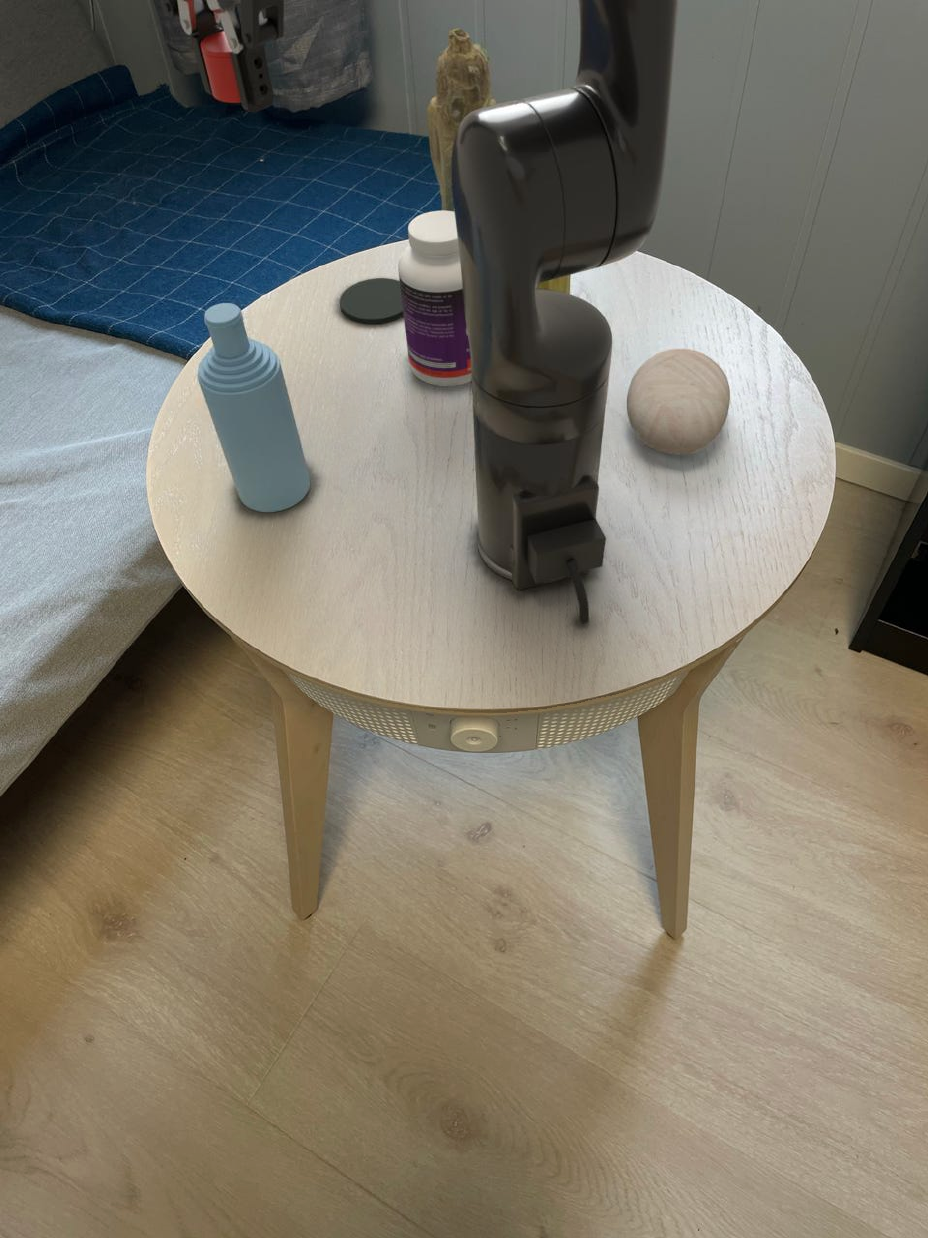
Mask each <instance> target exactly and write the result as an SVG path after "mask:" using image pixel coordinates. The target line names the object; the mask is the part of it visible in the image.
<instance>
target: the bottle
mask: <svg viewBox="0 0 928 1238" xmlns="http://www.w3.org/2000/svg"><path fill="white" fill-rule="evenodd" d="M203 318H204V320H203V321H204V325H205V326H206V327H207V330H208V334H209V336H210V339H211V342H212V346H211V347H210V349H209V350H208V351H207V352H206V353H205V355H204V356H203V357H202V359H201V361H200V362H199V364H198V369H197V375H196V376H197V381H198V384H199V387H200V389H201V392H202V395H203V398H204V401H205V403H206V406H207V409H208V412H209V415H210V418H211V421H212V424H213V427H214V429H215V432H216V435H217V438H218V440H219V443H220V446H221V449H222V452H223V454H224V458H225V461H226V463H227V467H228V469H229V472H230V475H231V477H232V480H233V483H234V486H235V488H236V489H235V490H236V492H237V494H238V498H239V500H240V501H241V502H242V504H243V505H244V506H246V507H247V508H249V509H251V510H253V511H256V512H260V513H276V512H281V511H284V510H288V509H290V508H291V507H292V508H293V507H294V506H296V505H297V504H299V503H300V502H301V501H302V500H303V499H304V498H305V497H306V495H307V494H308V493H309V490H310V488H311V478H310V477H311V476H310V473H309V469H308V465H307V461H306V457H305V453H304V449H303V445H302V442H301V437H300V433H299V429H298V426H297V422H296V419H295V418H296V417H295V414H294V410H293V406H292V402H291V398H290V396H289V391H288V387H287V384H286V379H285V375H284V372H283V368H282V364H281V359H280V357H279V356H278V354H277V353H276V352H275V351H274V350H273V349H272V347H270V346H269V345H268V344H265V343H262V342H260V341H258V340H255V339H253V338H250V337H248V334H247V330H246V327H245V323H244V315H243V311H242V309H241V308H240V307H239V306H238V305H236V304H234V303H231V302H221V303H217V304H214V305H212V306H210V307H208V308H207V309H206V311H204V315H203Z"/></svg>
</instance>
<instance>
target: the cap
mask: <svg viewBox="0 0 928 1238" xmlns="http://www.w3.org/2000/svg"><path fill="white" fill-rule="evenodd" d="M201 49H202V53H203V57H204V61H205V65H206V69H207V73H208V77H209V81H210V85H211V89H212V93H213V95H212V96H213V98H214V99H215V100H217V101H219V102H223V103H228V104H229V103H230V104H239V103H240V104H241V99H240V94H239V90H238V86H237V81H236V77H235V73H234V68H233V64H232V60H231V55H230V52H231V51H232V50H231V48H230V46H229V43H228V40H227V38H226V35H225V32H224V30H223V32H219V33H215V34H212V35H210V36H208V37H206V38H205V39H203V40H202V42H201Z"/></svg>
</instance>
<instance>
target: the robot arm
mask: <svg viewBox="0 0 928 1238" xmlns="http://www.w3.org/2000/svg"><path fill="white" fill-rule="evenodd" d="M159 1H160V4H161V6H162V8H163V10H164V13H165V14H166V16H167V17H168V18H169V19H173V18H177V19H179V22H180V25H181V27H182V30H183V31H184V33H185V34H186V35H188V36H190V39H191V42H192V47H193V50H194V54H195V58H196V62H197V65H198V70H199V73H200V77H201V81H202V85H203V88H204V91H205V92H206V94H209V95H211V96H213V93H212V89H211V85H210V81H209V77H208V73H207V69H206V65H205V61H204V57H203V53H202V49H201V42H202V40H203V39H205V38H206V37H208V36H210V35H212V34H215V33H219V32H223V31H224V32H225V35H226V38H227V40H228V43H229V46H230V48H231V50H232V51H231V52H230V55H231V60H232V64H233V68H234V73H235V77H236V81H237V86H238V90H239V94H240V99H241V102H240V104H241V107H242V109H244V110H245V111H247V112H250V113H252V114H256V113H258V112H260V111H262V110H266V109H267V108H269V107H271V106H272V105H273V103H274V90H273V85H272V83H271V82H272V79H271V76H270V70H269V66H268V61H267V55H266V49H265V48H266V44H267V43H270V42H272V41H276V40H279V39H282V38H283V37H284V34H285V33H284V32H285V31H284V29H285V28H284V27H285V26H284V24H285V22H284V21H285V19H284V17H285V15H284V14H285V0H159ZM679 2H680V0H578V9H579V32H580V33H579V58H578V68H577V73H576V78H575V81H574V83H573V86H572V87H569V88H567V87H566V88H564V89H559V90H554V91H549V92H545V93H540V94H536V95H532V96H527V97H522V98H519V99H514V100H509V101H505V102H500V103H497V104H495V105H491V106H487V107H483V108H480V109H477V110H475V111H473V112H470V113H469V114H468V115H467V116H465V118H464V119H463V120H462V122H461V123H460V125H459V127H458V130H457V132H456V136H455V140H454V143H453V151H452V160H451V166H452V193H453V204H454V213H455V222H456V230H457V238H458V247H459V256H460V266H461V276H462V289H463V304H464V312H465V321H466V327H467V333H468V340H469V346H470V359H471V380H472V381H471V397H472V399H471V400H472V424H473V443H474V444H473V446H474V465H475V485H476V487H475V489H476V509H477V524H478V525H477V526H478V528H477V546H478V551H479V554H480V556H481V558H482V560H483V561H484V562H485V564H486V565H487V566H488V567H489V568H490V569H491V570H492V571H494V572H495V574H498V575H499V576H502V577H503V578H505V579H508V580H510V581H511V582H512V583H513V584H514V587H515V588H516V590H519V591H523V590H525V589H531V588H534V587H537V586H541V585H546V584H550V583H555V582H559V581H561V580H565V579H569V578H570V579H571V581H572V584H573V587H574V592H575V594H576V598H577V602H578V609H579V622H580V623H581V624H587V623H588V622H589V621H590V617H589V614H590V613H589V611H590V610H589V600H588V595H587V591H586V587H585V585H584V581H583V579H582V576H581V575H584V574H588V573H589V572H590V571H591V570H595V569H599V568H603V565H604V558H605V550H606V549H605V547H606V540H607V537H606V535H605V533H604V532H603V530H602V528H601V526H600V524H599V522H598V521H597V519H596V518H597V510H598V501H599V490H600V485H599V474H600V466H601V465H600V464H601V457H602V448H603V447H602V446H603V437H604V428H605V427H604V426H605V418H606V409H607V401H608V391H609V382H610V372H611V364H612V354H613V333H612V329H611V326H610V323H609V321H608V320H607V318H606V316H605V315H604V314H603V313H602V312H601V311H600V310H599V309H598V308H597V307H595V306H594V305H593V304H592V303H590V302H588V301H587V300H585V299H583V298H581V297H579V296H577V295H573V294H571V293H570V294H568V293H564V292H560V291H555V290H549V289H541V288H537V287H538V284H539V283H541V282H545V281H549V280H552V279H556V278H560V277H563V276H567V275H571V276H572V275H574V274H578V273H582V272H586V271H589V270H593V269H597V268H601V267H603V266H607V265H609V264H613V263H616V262H619V261H622V260H624V259H626V258H628V257H630V256H631V255H633V254H634V253H636V252H637V251H639V249H640V248H641V247H642V246H643V245H644V244H645V242H646V240H647V238H648V237H649V235H650V233H651V230H652V229H653V226H654V222H655V219H656V216H657V212H658V207H659V204H660V200H661V194H662V188H663V183H664V175H665V168H666V157H667V147H668V137H669V124H670V111H671V99H672V97H671V96H672V85H673V71H674V60H675V46H676V36H677V35H676V34H677V24H678V23H677V22H678V13H679ZM237 6H240V24H241V25H239V22H238V18H237V16H236V13H235V8H236V7H237ZM263 10H265V18H264V15H263V12H262V11H263ZM220 23H221V26H222V27H219V26H217V25H220Z"/></svg>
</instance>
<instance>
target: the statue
mask: <svg viewBox="0 0 928 1238" xmlns="http://www.w3.org/2000/svg"><path fill="white" fill-rule="evenodd" d="M447 37H448V46H447V47H446V48H445V49H444V50H442V51H441V52H440V53H439V57H438V60H437V64H436V75H435V91H436V93H435V96H434V97H432V98H431V100H430V101H429V103H428V105H427V109H426V120H427V133H428V141H429V143H428V144H429V153H430V157H431V162H432V166H433V170H434V174H435V176H436V177H435V178H436V181H437V183H438V185H439V189H438V191H439V194H440V197H441V211H453V212H454V204H453V193H452V166H451V160H452V151H453V143H454V140H455V136H456V132H457V130H458V127H459V125H460V123H461V122H462V120H463V119H464V118H465V116H467V115H468V114H469V113H470V112H473V111H475V110H477V109H480V108H483V107H487V106H491V105H495V104H498V103H497V101H496V100H495V99H493V98H492V97H491V96H492V90H491V73H490V72H491V71H490V69H489V61H490V54H489V51H488V50H487V49H486V48H485V46H484V44H483V43H473V41H472V38H471V36H470V35H469V33H468V32H467V31H466V30H463V27H459V28H454V29H451V30H449V31H448V33H447Z"/></svg>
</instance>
